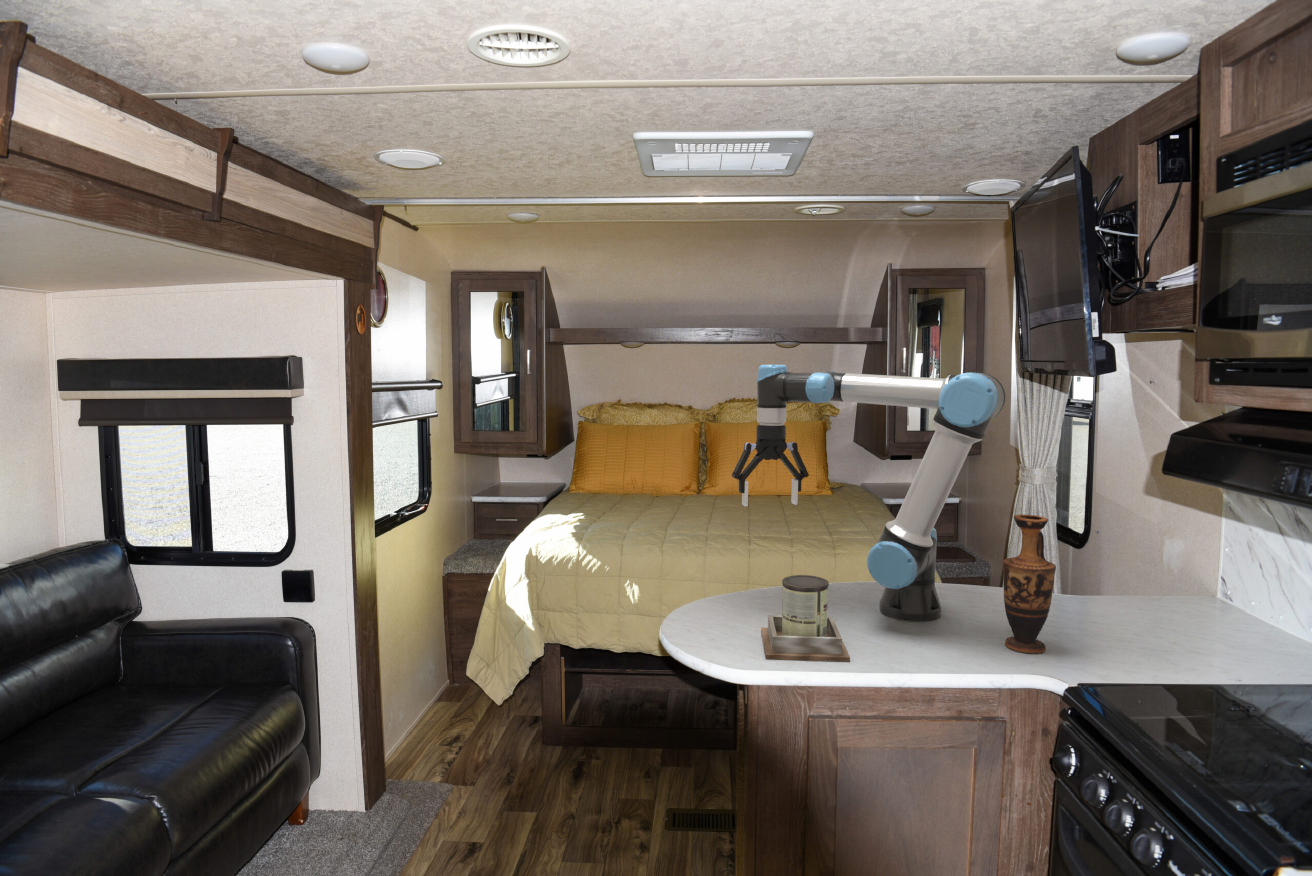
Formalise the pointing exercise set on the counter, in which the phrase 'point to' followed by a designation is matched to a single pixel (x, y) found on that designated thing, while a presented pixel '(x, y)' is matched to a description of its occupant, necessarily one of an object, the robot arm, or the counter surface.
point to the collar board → (803, 644)
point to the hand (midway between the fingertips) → (769, 504)
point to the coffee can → (804, 606)
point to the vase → (1028, 587)
